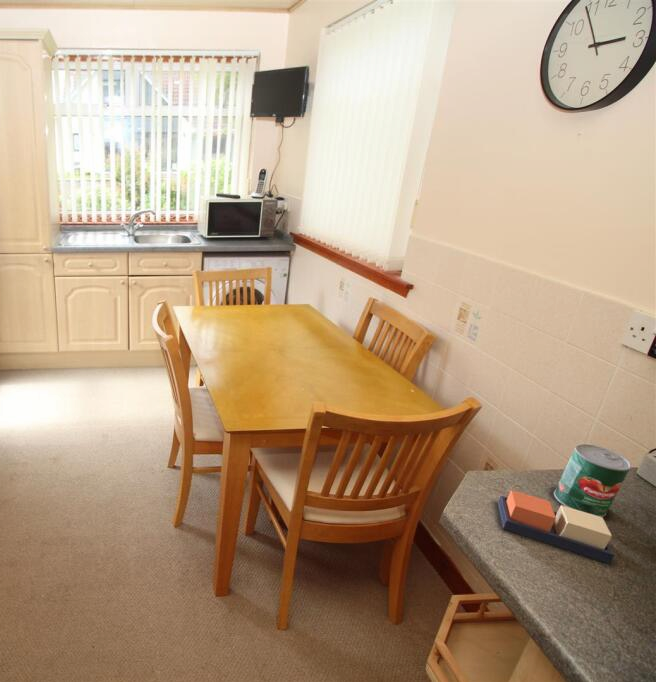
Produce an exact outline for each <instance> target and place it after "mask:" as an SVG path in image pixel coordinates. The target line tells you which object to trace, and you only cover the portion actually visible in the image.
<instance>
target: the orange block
mask: <svg viewBox="0 0 656 682" xmlns="http://www.w3.org/2000/svg"><path fill="white" fill-rule="evenodd" d="M507 498H508V499H507V501H506V505H507V509H508V513H509V517H510V520H512V521H516V522H519V523H522V524H525V525H528V526H531V527H534V528H538V529H541V530H544V531H547V532H550V530H551V528H552V526H553V524H554V522H555V520H556V517H555V514H554V512H555V511H554V508H553V506H552V504H551V501H550V500H547V499H544V498H540V497H537V496H533V495H529V494H526V493H523V492H519V491H517V490H513V489H511V490H510V492H509V494H508V497H507Z"/></svg>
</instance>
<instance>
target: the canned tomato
mask: <svg viewBox="0 0 656 682" xmlns="http://www.w3.org/2000/svg"><path fill="white" fill-rule="evenodd" d="M631 469H632V463H631V461H629V460H628V459H627V458H626V457H624V456H622V455H621V454H619V453H618V452H615V451H614V450H610V449H608V448H605V447H603V446H598V445H594V444H589V443H580V444H577V445H575V447H574V450H573V452H572V454H571V457H570V458H569V460H568V463H567V464H566V467H565V469H564V470H563V472H562V475H561V477H560V479H559V481H558V484H557V486H556V488H555V490H554V492H553V496H554V498H555V499H556V500H557V502H559V504H561V505H562V506H565V507H569V508H572V509H576V510H579V511H582V512H586V513H589V514H593V515H596V516H599V517H602V518H604V517H605V516H606V515H607V513H608V511H609V509H610V508H611V506H612V504H613V501H614V500H615V498H616V497H617V494H618V492H619V491H620V489H621V487H622V484H623V483H624V481H625V479H626V477H627V476H628V474H629V472H630V470H631Z"/></svg>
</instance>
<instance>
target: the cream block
mask: <svg viewBox="0 0 656 682" xmlns="http://www.w3.org/2000/svg"><path fill="white" fill-rule="evenodd" d="M556 512H557V514H556V516H555V517H556V520H555V522H554V524H553V525H554V528H555V530H556V533H557V535H560V536H563V537H566V538H569V539H572V540H575V541H578V542H582V543H585V544H588V545H591V546H594V547H597V548H600V549H605V548H606V546H607V544H608V543H610V542H609V541H611V538H612V537H613V535H612V533H611V531H610V530H609V527H608V525H607V523H606V521H605V520H604V517H599V516H596V515H593V514H589V513H586V512H582V511H579V510H576V509H572V508H569V507H566V506H564V505H563V504H561V505H560V506H559V508H558V510H557V511H556Z"/></svg>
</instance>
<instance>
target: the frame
mask: <svg viewBox="0 0 656 682" xmlns="http://www.w3.org/2000/svg"><path fill="white" fill-rule="evenodd" d="M507 499H508V497H507V496H503V495H500V496H499V498H498V501H497V508H498V512H499V516H500V522H501V526H502V530H504V531H507V532H511V533H514V534H517V535H520V536H523V537H525V538H528V539H532V540H534V541H537V542H541V543H544V544H546V545H547V544H548V545H551V546H554V547H557V548H560V549H563V550H566V551H568V552H572V553H575V554H577V555H581V556H584V557H587V558H590V559H594V560H596V561H600V562H603V563H606V564H609V565H610V564H611V563H612V560H613V558H614V556H615V553H614V551H613V549H612V547H611V544H610V542H608V544H607V546H606V548H605V549H600V548H597V547H594V546H591V545H588V544H585V543H582V542H578V541H575V540H572V539H569V538H566V537H563V536H560V535H557V533H556V530H555V528H554V525H553V526H552V528H551V530H550V532H547V531H544V530H541V529H538V528H534V527H531V526H528V525H525V524H522V523H519V522H516V521H512V520H510V517H509V513H508V509H507V505H506V501H507ZM557 512H558V511H554V514H555V516H556V514H557Z"/></svg>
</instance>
